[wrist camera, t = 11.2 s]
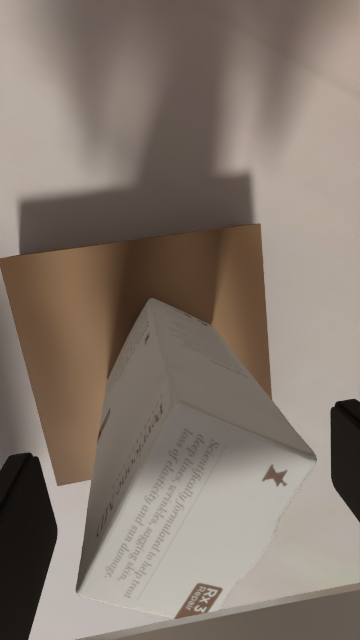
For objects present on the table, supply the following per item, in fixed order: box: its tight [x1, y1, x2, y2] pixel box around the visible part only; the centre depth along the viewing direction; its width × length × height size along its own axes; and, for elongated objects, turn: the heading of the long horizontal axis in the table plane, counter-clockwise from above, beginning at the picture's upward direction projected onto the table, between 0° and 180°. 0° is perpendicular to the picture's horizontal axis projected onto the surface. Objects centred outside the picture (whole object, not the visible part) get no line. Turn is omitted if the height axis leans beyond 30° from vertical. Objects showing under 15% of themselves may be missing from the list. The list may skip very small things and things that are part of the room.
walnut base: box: [0, 224, 272, 486], centre depth 22 cm, size 14×14×4 cm
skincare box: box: [76, 298, 317, 619], centre depth 14 cm, size 6×4×12 cm
